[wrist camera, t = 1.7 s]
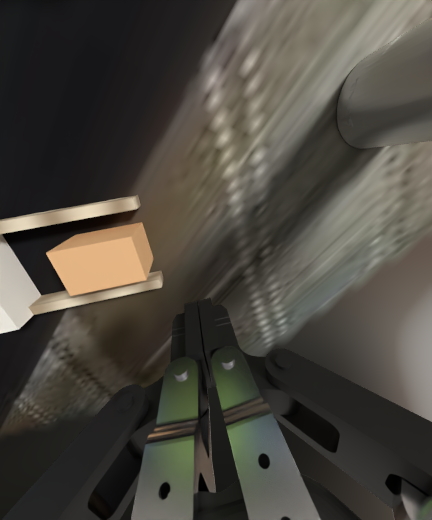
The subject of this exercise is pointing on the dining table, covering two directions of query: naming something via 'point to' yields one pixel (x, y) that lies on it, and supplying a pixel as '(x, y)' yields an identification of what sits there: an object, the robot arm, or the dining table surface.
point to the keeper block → (103, 259)
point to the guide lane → (72, 214)
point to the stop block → (14, 291)
